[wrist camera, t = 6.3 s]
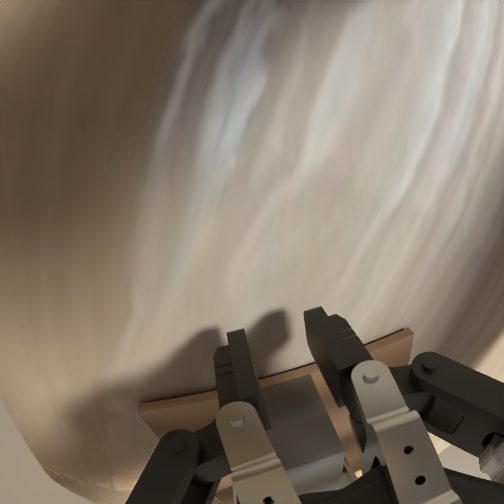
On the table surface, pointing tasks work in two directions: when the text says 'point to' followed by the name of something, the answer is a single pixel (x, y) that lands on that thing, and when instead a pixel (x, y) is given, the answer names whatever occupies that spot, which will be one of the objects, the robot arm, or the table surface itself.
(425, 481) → the robot arm
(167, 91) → the table surface
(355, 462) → the walnut board
